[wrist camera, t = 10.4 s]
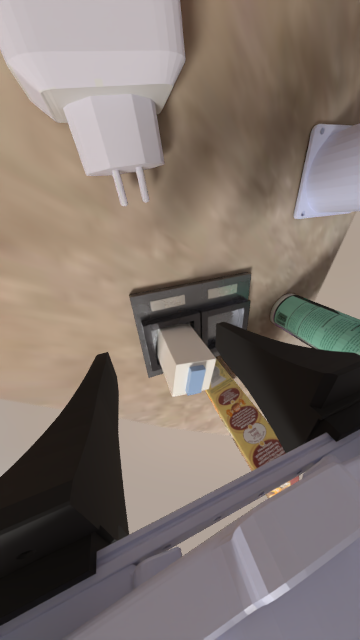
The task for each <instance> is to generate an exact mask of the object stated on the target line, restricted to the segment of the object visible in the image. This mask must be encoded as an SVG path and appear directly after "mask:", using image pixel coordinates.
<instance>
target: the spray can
mask: <svg viewBox="0 0 360 640" xmlns="http://www.w3.org/2000/svg"><path fill="white" fill-rule="evenodd" d="M270 320H271V322H272V323H273V324H275V325H276V326H278V327H280V328H281V329H283V330H284V331H286V332H288V333H289V334H291V335H292V336H294V337H296V338H297V339H299V340H301V341H302V342H304V343H305V344H307V345H309V346H310V347H312V348H314V349H321V350H329V351H340V352H352V353H356V354H358V355H360V320H359V319H356V318H354V317H351V316H349V315H346V314H343V313H341V312H339V311H336V310H334V309H331V308H329V307H326V306H323V305H321V304H318V303H315V302H313V301H311V300H308V299H306V298H303V297H300V296H298V295H295V294H291V293H290V294H286V295H284V296H282V297H281V298H280V299H278V301H277V302H276V303H275V304H274V306H273V307H272V310H271V313H270Z"/></svg>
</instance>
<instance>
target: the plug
mask: <svg viewBox="0 0 360 640" xmlns="http://www.w3.org/2000/svg"><path fill="white" fill-rule="evenodd" d="M156 353H157V356H158V359H159V361H160V364H161V367H162V370H163V373H164V375H165V378H166V381H167V384H168V386H169V389H170V392H171V395H172V397H174V396H179V395H184V394H187V395H193V394H197V393H201V391H202V390H207V389H209V386H210V382H211V378H212V374H213V370H214V366H215V362H216V358H215V356H214V355H213V354H212V353H211V351H210V350H209V349H208V347H207V346H206V345H205V344H204V342H203V341H202V340H201V339H200V337H199V336H198V335H197V333H196V332H195V331H194V330H193V328H192V327H191V326H190V324H178V325H174V326H170V327H166V328H162V329H158V335H157V352H156Z"/></svg>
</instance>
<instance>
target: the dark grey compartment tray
mask: <svg viewBox="0 0 360 640" xmlns="http://www.w3.org/2000/svg"><path fill="white" fill-rule="evenodd" d="M250 280H251V273H248V272H246V273H241V274H235V275H230V276H225V277H220V278H215V279H209V280H204V281H199V282H194V283H189V284H183V285H178V286H173V287H168V288H162V289H157V290H152V291H147V292H142V293H136V294H131V295H129V297H130V301H131V305H132V309H133V314H134V318H135V322H136V326H137V330H138V335H139V339H140V343H141V347H142V352H143V356H144V360H145V364H146V369H147V373H148V377H149V378H150V377H153V376H156V375H160V374H163V370H162V367H161V364H160V361H159V359H158V356H157V353H156V352H157V335H158V329H162V328H166V327H170V326H174V325H178V324H190V326H191V327H192V328H193V330H194V331H195V332H196V333H197V335H198V336H199V337H200V339H201V340H202V341H203V342H204V344H205V345H206V346H207V347H208V349H209V350H210V351H211V353H212V354H213V355H214V356H215V357H217V356H220V354H219V352H218V350H217V349H216V347H215V345H216V324H217V323H221V322H227V323H229V324H232V325H235V326H237V327H240V328H242V329H245V330H247V324H248V316H249V309H250V300H248V296H249V288H250Z"/></svg>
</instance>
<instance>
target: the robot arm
mask: <svg viewBox="0 0 360 640" xmlns="http://www.w3.org/2000/svg"><path fill="white" fill-rule="evenodd" d="M320 130H321V133H320ZM352 211H360V123H359V124H356V125H354V126H352V125H334V124H317V125H315V126H314V127H313V129H312V131H311V136H310V141H309V145H308V150H307V155H306V159H305V164H304V169H303V174H302V178H301V183H300V188H299V193H298V197H297V202H296V207H295V212H294V218H295V219H303V218H311V217H320V216H329V215H337V214H346V213H350V212H352ZM301 214H302V215H301ZM215 347H216V349H217V350H218V352H219V354H220V355H221V357H222V358H223V360H224V361H225V362H226V363H227V365H228V366H229V367H230V368H231V370H232V371H233V372H234V373H235V374H236V376H237V377H238V378H239V379H240V380H241V382H242V383H243V384H244V385H245V387H246V388H247V389H248V391H249V392H250V394H251V395H252V397H253V398H254V400H255V401H256V403H257V405H258V406H259V408H260V409H261V411H262V413H263V414H264V416H265V417H266V419H267V421H268V423H269V424H270V426H271V428H272V429H273V431H274V433H275V435H276V437H277V438H278V440H279V442H280V444H281V446H282V447H283V449H284V451H285V453H286V454H284V455H282V456H280V457H278V458H276V459H274V460H272V461H270V462H268V463H266V464H265V465H263V466H261V467H259V468H257V469H255V470H253V471H251V472H249V473H247V474H245V475H243V476H241V477H240V478H238V479H236V480H234V481H232V482H230V483H228V484H226V485H224V486H222V487H220V488H218V489H216V490H214V491H213V492H211V493H209V494H207V495H205V496H203V497H201V498H199V499H197V500H195V501H193V502H192V503H189V504H188V505H186V506H184V507H182V508H180V509H178V510H176V511H174V512H172V513H170V514H169V515H166V516H165V517H163V518H161V519H159V520H157V521H155V522H153V523H151V524H149V525H147V526H145V527H143V528H141V529H139V530H137V531H136V532H134V533H132V534H130V535H129V531H128V522H127V514H126V506H125V499H124V489H123V480H122V470H121V460H120V450H119V438H118V404H119V391H118V382H117V376H116V373H115V370H114V367H113V365H112V362H111V359H110V356H109V354H108V352H106V353H103V354H99V355H97V356H96V357H95V359H94V361H93V363H92V365H91V367H90V369H89V371H88V373H87V374H86V376H85V378H84V379H83V381H82V383H81V384H80V386H79V388H78V389H77V391H76V392H75V394H74V395H73V397H72V398H71V400H70V401H69V403H68V404H67V405H66V407H65V408H64V409H63V411H62V412H61V413H60V415H59V416H58V417H57V418H56V420H55V421H54V422H53V423H52V424H51V425H50V427H49V428H48V429H47V430H46V431H45V432H44V434H43V435H42V436H41V437H40V438H39V439H38V440H37V441H36V442H35V443H34V444H33V446H31V448H30V449H29V450H28V451H27V452H26V453H25V454H24V455H23V456H22V457H21V458H20V459H19V460H18V461H17V462H16V463H15V464H14V465H13V466H12V467H11V468H10V469H9V470H8V471H6V472H5V473H4V474H3V475H2V476H1V477H0V640H360V355H358V354H356V353H352V352H340V351H329V350H321V349H314V348H307V347H302V346H297V345H292V344H288V343H284V342H280V341H276V340H273V339H270V338H267V337H264V336H261V335H258V334H255V333H252V332H250V331H247V330H245V329H242V328H240V327H237V326H235V325H232V324H229V323H227V322H221V323H217V324H216V345H215ZM304 472H305V473H304ZM302 473H304V474H303V478H302V479H301V480H300V481H298V482H296V483H294V484H293V485H291V486H289V487H287V488H286V489H284V490H282V491H281V492H279V493H277V494H275V495H274V496H272V497H270V498H268V499H267V500H265V501H264V502H262V503H260V504H259V505H257V506H256V507H254V508H253V509H251V510H250V511H249V512H247V513H246V514H244V515H243V516H241V517H240V518H238V519H237V520H235V521H233V522H232V523H230V524H229V525H227V526H226V527H225V528H223V529H222V530H220V531H219V532H217V533H216V534H214V535H213V536H211V537H210V538H208V539H207V540H206V541H204V542H203V543H201V544H200V545H199V546H197V547H195V548H194V549H192V550H191V551H189V552H188V553H187V554H185V555H184V556H182V553H181V549H180V548H179V547H176V548H173V549H171V548H172V547H174V546H176V545H177V544H179V543H181V542H183V541H185V540H186V539H188V538H190V537H192V536H193V535H195V534H197V533H199V532H200V531H202V530H204V529H206V528H207V527H209V526H211V525H213V524H214V523H216V522H218V521H220V520H221V519H223V518H225V517H227V516H229V515H230V514H232V513H234V512H235V511H237V510H239V509H241V508H242V507H244V506H246V505H248V504H250V503H251V502H253V501H255V500H257V499H258V498H260V497H262V496H263V495H265V494H267V493H269V492H271V491H272V490H274V489H276V488H278V487H279V486H281V485H283V484H285V483H286V482H288V481H290V480H292V479H293V478H295V477H297V476H299V475H300V474H302ZM169 549H170V550H169ZM167 550H168V551H167Z"/></svg>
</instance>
